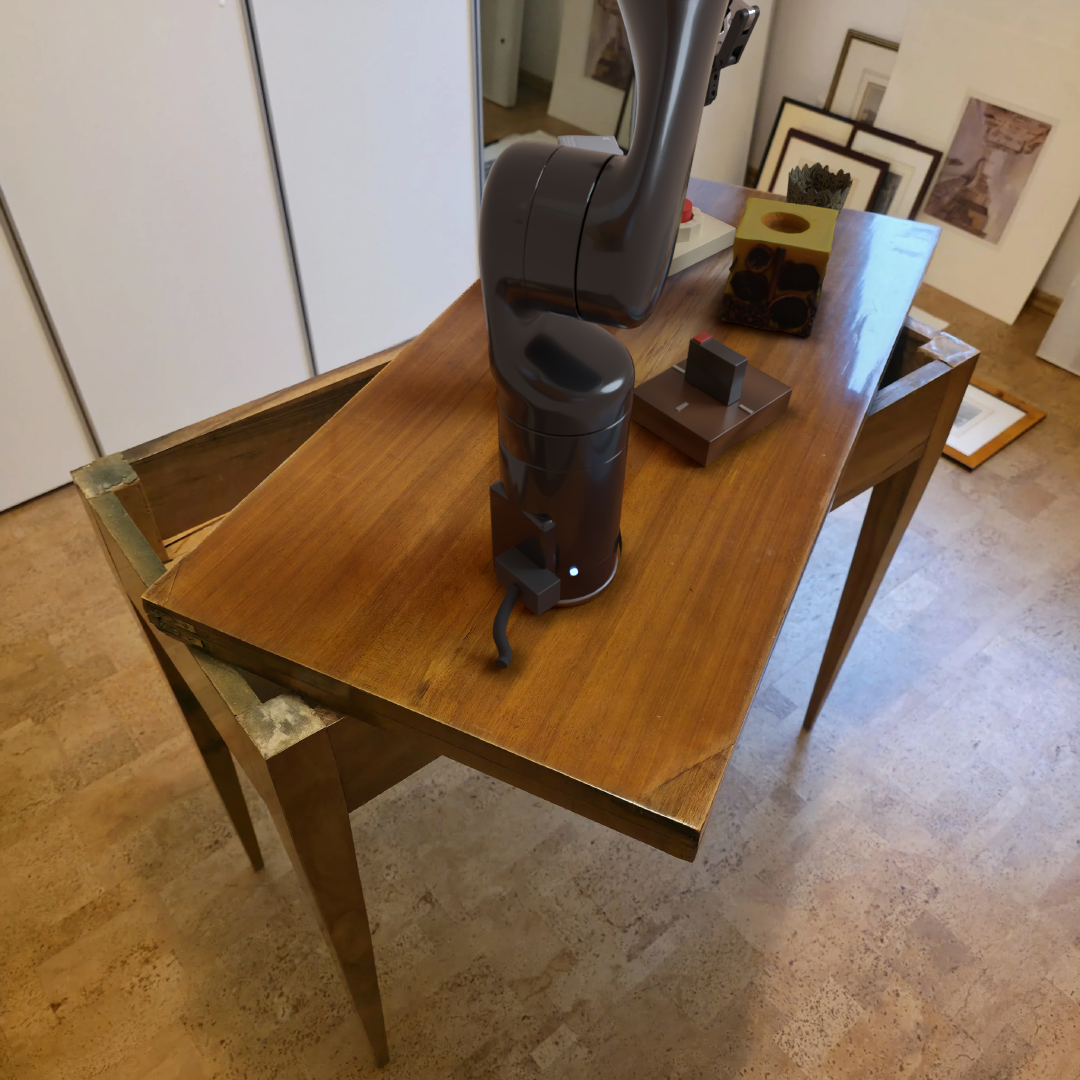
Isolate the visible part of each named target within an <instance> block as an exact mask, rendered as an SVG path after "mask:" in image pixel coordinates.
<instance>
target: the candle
mask: <svg viewBox="0 0 1080 1080" xmlns="http://www.w3.org/2000/svg"><path fill="white" fill-rule="evenodd" d="M837 215H838V210H833V209H828V208H821V207H815V206H809V205H800V204H794V203H786V201H785V202H784V201H780V200H772V199H766V198H765V199H764V198H758V197H753V196H752V197H748V199H747V201H746V205H745V210H744V212H743V214H742V218H741V222H740V223H739V226H738V228H736V232H735V238H734V243H733V247H732V248H733V251H732V252H733V254H732V255H733V256H732V262H731V265H730V266H729V267H728V270H729V273H728V276H727V279H726V283H725V286H724V291H723V294H722V298H721V310H720V312H719V314H718V317H719V318H720V320H721V321H722V322H726V323H730V324H736V325H741V326H745V327H750V328H755V329H759V330H765V331H774V332H777V331H781V332H784V333H785V332H786V333H789V334H792V335H797V336H800V337H804V338H810V337H812V333H813V329H814V325H815V321H816V318H817V314H818V310H819V305H820V302H821V301H820V299H821V296H822V295H821V294H822V290H823V284H824V281H825V277H826V274H827V268H828V263H829V260H830V256H831V251H832V248H833V239H834V232H835V227H836V223H837V221H836V219H837ZM837 220H838V219H837Z"/></svg>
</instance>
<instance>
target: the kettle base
mask: <svg viewBox="0 0 1080 1080" xmlns="http://www.w3.org/2000/svg"><path fill="white" fill-rule="evenodd" d="M736 232H737V227H735V226H732V225H731V224H729V223H726V222H725V221H722V220H720V219H717V218H716V217H714V216H711V215H709V214H708V213H705V212H702V211H701V209H700V207H697V206H694V205H693V206H692V214H691V220H690V221H688V222H686V223H680V228H679V232H678V237H677V242H676V246H675V251H674V255H673V259H672V263H671V267H670V270H669V274H668V278H669V277H671V276H674V275H675V274H677V273H679V272H681V271H683V270H686V269H687V268H690V267H691V266H693V265H695V264H697V263H699V262H702V261H703V260H705V259H707V258H709V257H712V256H714V255H716V254H718V253H720V252H722V251H723V250H726V249H728V248H730V247H731V246H734V238H735V234H736Z"/></svg>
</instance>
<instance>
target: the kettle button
mask: <svg viewBox="0 0 1080 1080" xmlns="http://www.w3.org/2000/svg"><path fill="white" fill-rule="evenodd" d="M692 206H694V205H693V202H692V200H690V199H688V198H687V197H686V198H685V204H684V209H683V214H682V219H681V223H686V222H688V221H690V220H691V214H692Z"/></svg>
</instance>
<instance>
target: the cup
mask: <svg viewBox="0 0 1080 1080" xmlns="http://www.w3.org/2000/svg"><path fill="white" fill-rule="evenodd" d="M829 168H830V166H829V164H825V165H824V166H823V165H822V164H821V163H820V162H819V161H818V162H815V163H814V164H812V165H811V166H810V167H809V165H808V163H805V164H804V165H803V166H802V169H801V168H800V166H799V165H796V166H795V168H794V167H792V168H791V170H790V171H789V172H788V179H787V188H786V198H785V199H786V201H785V202H786V203H794V204H800V205H809V206H815V207H821V208H828V209H833V210H838V215H837V219H836V222H837V221H838V219H839V217H840V215H841V213H842V211H843V208H844V206H845V204H846V201H847V199H848V196H849V193H850V190H851V188H852V186H853V182H854V179H852V176H851V172H846V173H845V170H844V169H843V168H840V169H839V170H838V171H837V173H835V172H834V171H830V170H829Z"/></svg>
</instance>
